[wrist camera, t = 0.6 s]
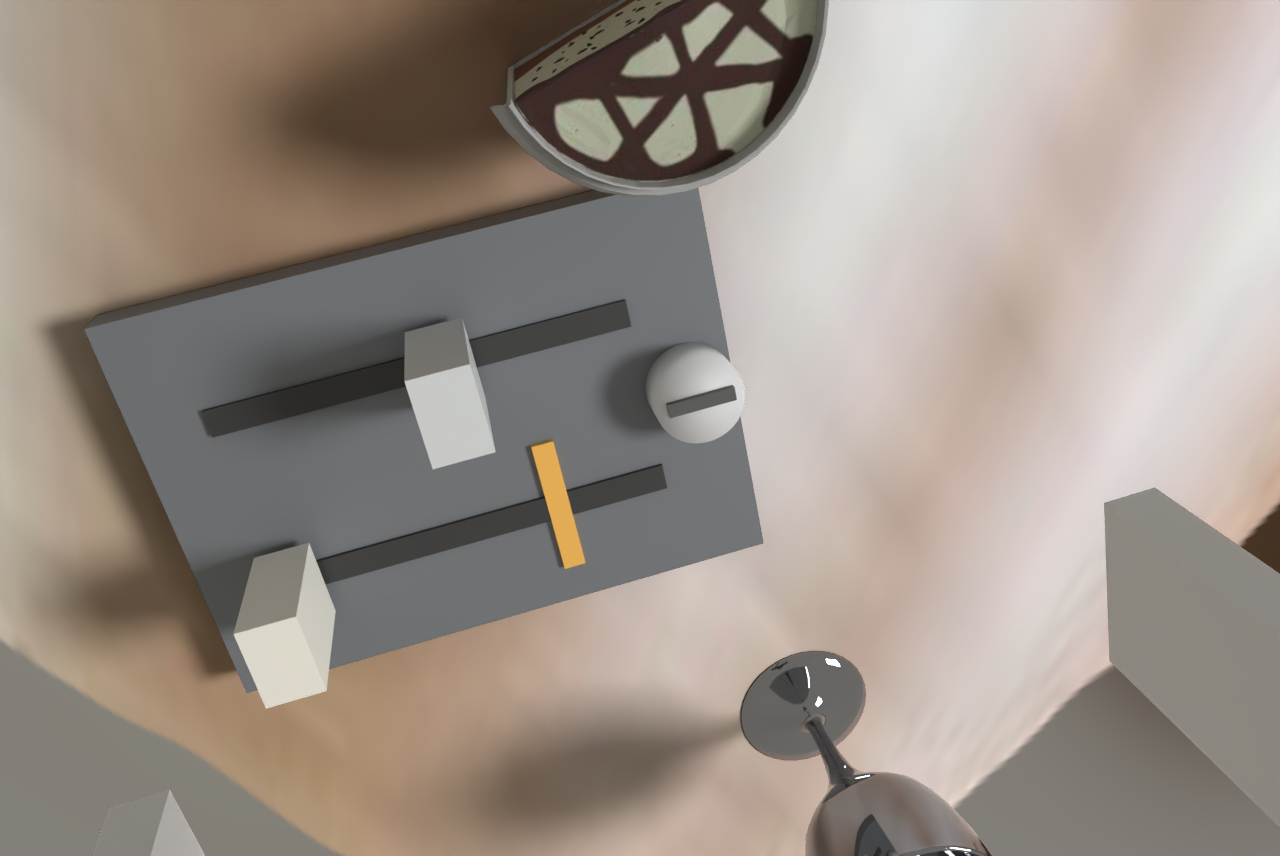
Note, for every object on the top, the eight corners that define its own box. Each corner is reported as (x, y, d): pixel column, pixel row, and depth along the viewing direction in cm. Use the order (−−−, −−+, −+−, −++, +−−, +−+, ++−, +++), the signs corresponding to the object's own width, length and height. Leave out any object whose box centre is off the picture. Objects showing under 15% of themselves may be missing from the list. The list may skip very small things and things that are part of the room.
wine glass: (809, 618, 56) (937, 819, 43) (900, 693, 60) (1046, 903, 46) (704, 720, 58) (795, 947, 44) (798, 788, 61) (911, 1020, 47)
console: (97, 314, 44) (66, 347, 40) (684, 167, 46) (709, 184, 42) (252, 667, 51) (239, 724, 47) (751, 524, 54) (778, 566, 50)
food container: (553, 218, 46) (589, 274, 37) (475, 87, 43) (494, 114, 34) (802, 67, 46) (900, 87, 37) (738, -73, 43) (827, -89, 34)
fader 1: (253, 557, 46) (233, 634, 41) (309, 542, 46) (296, 616, 41) (282, 626, 48) (265, 708, 42) (335, 610, 48) (326, 690, 42)
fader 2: (404, 332, 44) (404, 381, 38) (462, 317, 44) (469, 364, 39) (429, 411, 45) (433, 469, 40) (484, 396, 46) (495, 452, 40)
